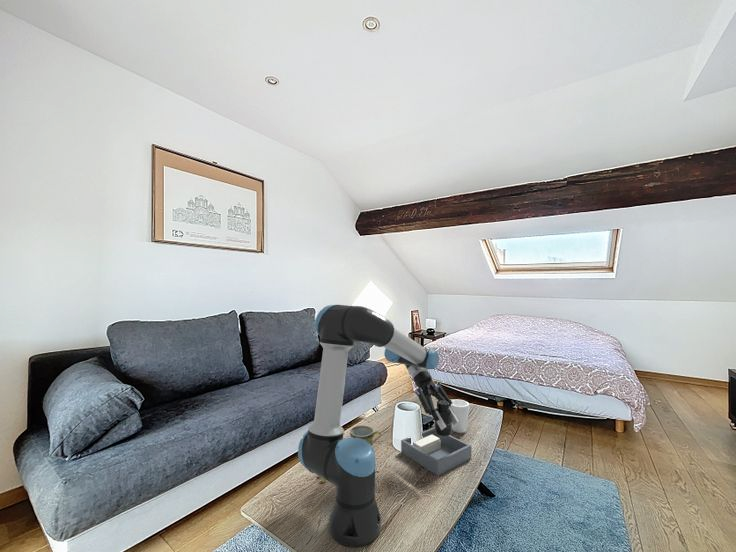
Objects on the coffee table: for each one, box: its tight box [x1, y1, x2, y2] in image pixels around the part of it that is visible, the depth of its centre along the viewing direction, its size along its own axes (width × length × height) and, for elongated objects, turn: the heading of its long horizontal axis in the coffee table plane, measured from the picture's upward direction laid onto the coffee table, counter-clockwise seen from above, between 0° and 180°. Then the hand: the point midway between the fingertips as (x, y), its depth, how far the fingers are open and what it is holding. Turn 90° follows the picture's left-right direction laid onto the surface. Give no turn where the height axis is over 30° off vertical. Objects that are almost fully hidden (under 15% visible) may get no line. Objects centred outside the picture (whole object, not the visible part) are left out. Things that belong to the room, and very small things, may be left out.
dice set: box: [318, 476, 327, 483], centre depth 116 cm, size 5×5×2 cm
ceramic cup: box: [349, 424, 382, 447], centre depth 132 cm, size 13×10×10 cm
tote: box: [400, 427, 472, 477], centre depth 129 cm, size 20×20×6 cm
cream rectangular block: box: [413, 435, 441, 454], centre depth 133 cm, size 12×5×4 cm, turn 126°
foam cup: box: [450, 399, 470, 434], centre depth 154 cm, size 10×9×13 cm
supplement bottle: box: [433, 400, 453, 436], centre depth 127 cm, size 7×7×12 cm
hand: (450, 425), depth 124 cm, fingers closed on supplement bottle, 7 cm apart
